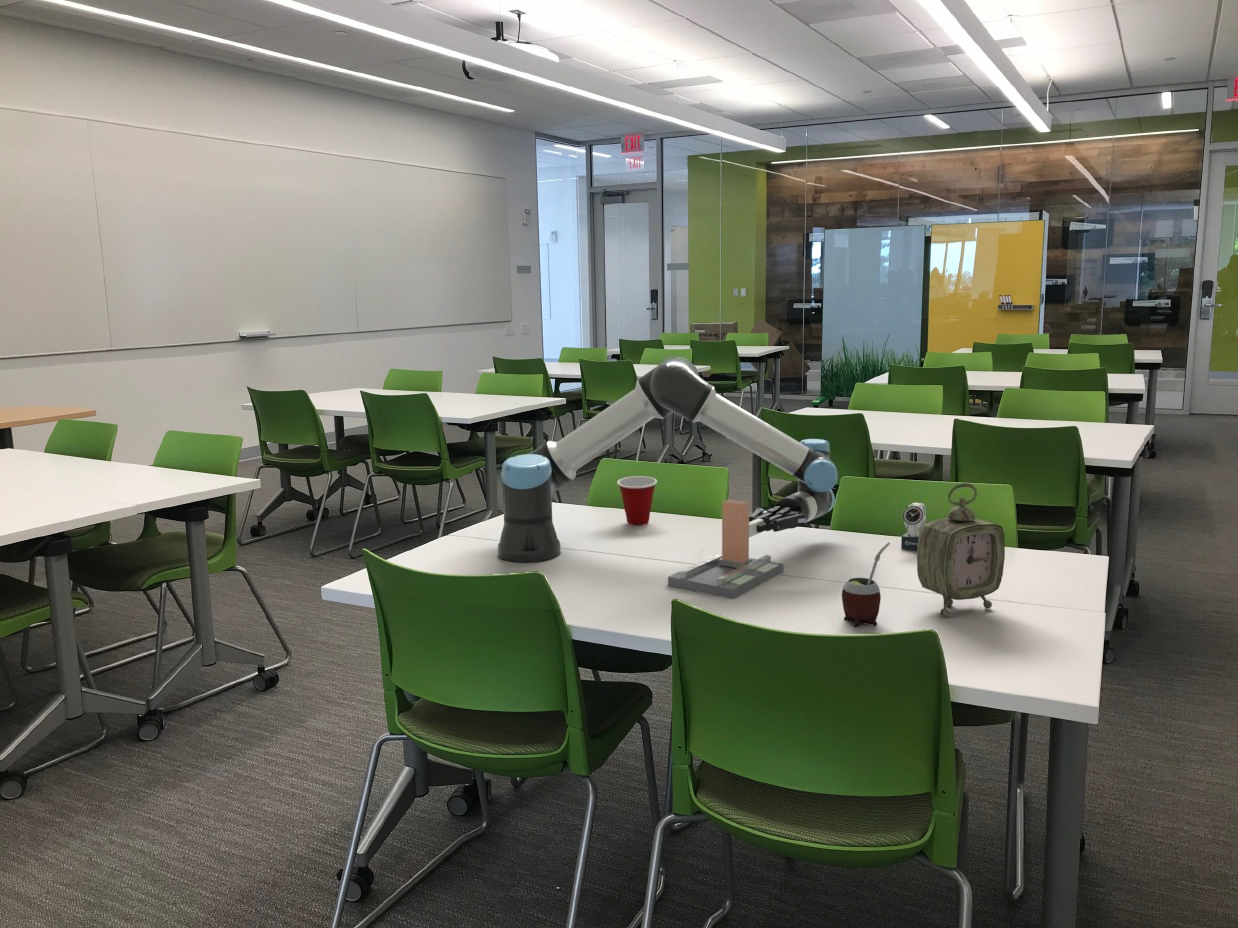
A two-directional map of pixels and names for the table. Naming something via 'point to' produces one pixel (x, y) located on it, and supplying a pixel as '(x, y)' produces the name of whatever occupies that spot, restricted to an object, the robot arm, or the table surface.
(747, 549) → the switch lever
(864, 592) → the mate gourd
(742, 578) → the switch panel
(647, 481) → the plastic cup
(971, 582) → the tabletop clock
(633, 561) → the table surface
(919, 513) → the watch
